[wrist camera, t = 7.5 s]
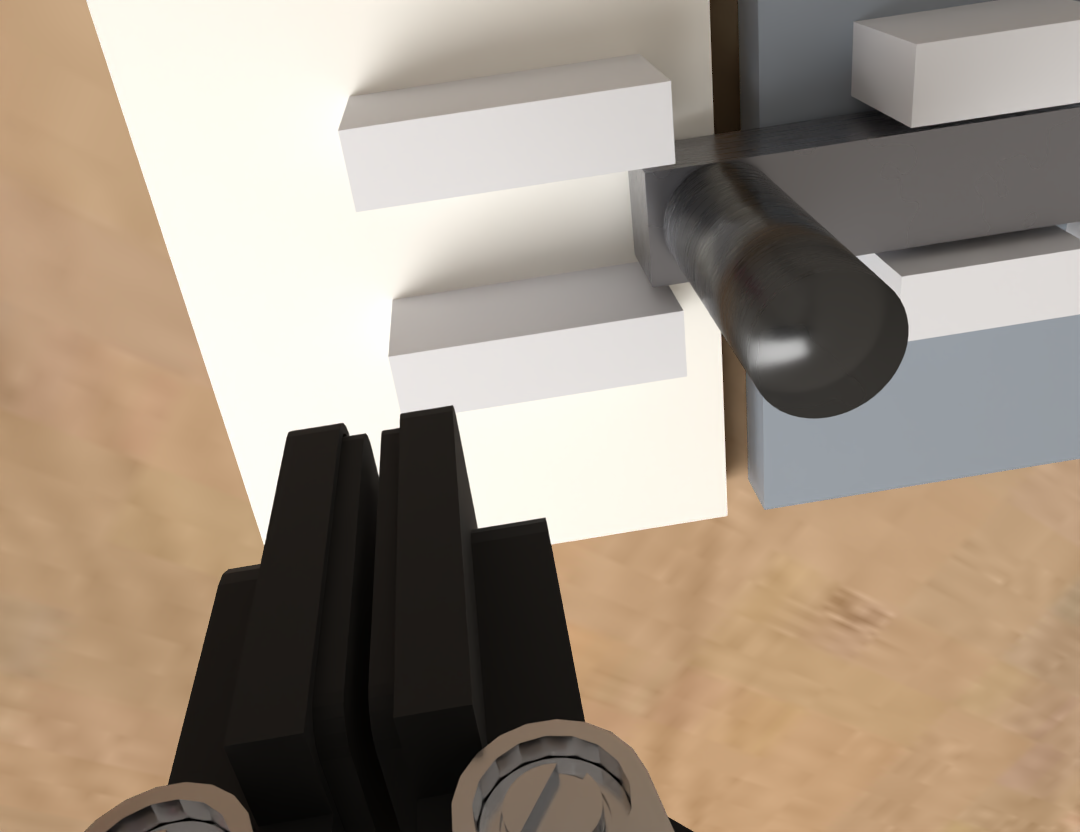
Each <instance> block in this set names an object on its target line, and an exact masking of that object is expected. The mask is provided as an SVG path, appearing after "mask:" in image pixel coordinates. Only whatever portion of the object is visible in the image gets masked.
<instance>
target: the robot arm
mask: <svg viewBox="0 0 1080 832" xmlns="http://www.w3.org/2000/svg"><path fill="white" fill-rule="evenodd" d="M84 832H693V831H691V830H690V829H688V828H686V827H684V826H683V825H681V824H679V823H678V822H676V821H674V820H672V819H671V818H669V817H668V816H667V814H666V812H665V809H664V807H663V805H662V802H661V800H660V798H659V796H658V793H657V791H656V789H655V787H654V784H653V782H652V780H651V777H650V775H649V773H648V771H647V769H646V768H645V766H644V765H643V763H642V762H641V760H640V759H639V757H638V756H637V754H636V753H635V751H634V750H633V748H632V747H630V746H629V745H628V744H626V743H625V742H624V741H622V740H621V739H620V738H618V737H617V736H616V735H615V734H613V733H612V732H611V731H608V730H605V729H602V728H600V727H597V726H594V725H592V724H589V723H586V722H585V719H584V714H583V709H582V704H581V698H580V693H579V688H578V683H577V677H576V672H575V667H574V662H573V656H572V651H571V646H570V641H569V635H568V630H567V625H566V620H565V614H564V609H563V604H562V599H561V594H560V588H559V583H558V578H557V573H556V567H555V562H554V557H553V552H552V546H551V541H550V536H549V531H548V526H547V521H546V517H545V518H539V519H533V520H527V521H521V522H515V523H508V524H502V525H496V526H490V527H484V528H478V526H477V521H476V516H475V510H474V505H473V500H472V495H471V490H470V485H469V479H468V474H467V469H466V464H465V459H464V453H463V448H462V443H461V438H460V433H459V428H458V423H457V418H456V413H455V409H454V406H453V405H451V406H444V407H438V408H432V409H426V410H419V411H413V412H407V413H401V414H400V428H395V429H389V430H383V431H382V433H381V447H380V467H379V475H378V471H377V467H376V463H375V459H374V455H373V451H372V447H371V443H370V440H369V438H368V435H367V434H366V433H364V434H358V435H351V436H350V435H349V432H348V430H347V427H346V425H345V424H344V423H338V424H332V425H325V426H319V427H313V428H306V429H300V430H294V431H290V432H288V435H287V437H286V442H285V447H284V452H283V457H282V462H281V467H280V472H279V477H278V481H277V486H276V491H275V496H274V501H273V506H272V511H271V516H270V521H269V526H268V531H267V535H266V540H265V545H264V550H263V555H262V560H261V564H258V565H252V566H246V567H240V568H234V569H228V570H227V571H226V572H225V573H224V574H223V575H222V577H221V580H220V583H219V585H218V589H217V593H216V597H215V601H214V605H213V609H212V613H211V617H210V621H209V625H208V628H207V632H206V636H205V640H204V644H203V648H202V652H201V656H200V660H199V664H198V668H197V672H196V676H195V680H194V684H193V688H192V692H191V696H190V700H189V704H188V708H187V711H186V715H185V719H184V723H183V727H182V731H181V735H180V739H179V743H178V747H177V751H176V755H175V759H174V763H173V767H172V771H171V775H170V779H169V783H168V785H166V786H160V787H155V788H153V789H151V790H148V791H146V792H143V793H141V794H139V795H136V796H134V797H132V798H129V799H127V800H125V801H123V802H122V803H120V804H119V805H117V806H116V807H114V808H113V809H111V810H110V811H108V812H107V813H105V814H104V815H102V816H101V817H99V818H98V819H97V820H96V821H95V822H94V823H93V824H91V825H90V826H89V827H88V828H87V829H86V830H85V831H84Z"/></svg>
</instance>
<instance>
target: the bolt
mask: <svg viewBox="0 0 1080 832" xmlns="http://www.w3.org/2000/svg"><path fill="white" fill-rule="evenodd" d="M674 146H675V164H671V165H664V166H658V167H651V168H644V169H638V170H631V171H628V176H629V189H630V201H631V214H632V227H633V239H634V252H635V256H636V258H637V260H638V261H639V263H640V265H641V267H642V269H643V271H644V273H645V274H646V276H647V278H648V280H649V282H650V284H651V285H652V287H653V288H654V287H660V286H667V285H673V284H680V283H686V282H689V283H690V284H691V286H692V287H693V289H694V290H695V292H696V294H697V295H698V297H699V298H700V300H701V301H702V303H703V305H704V306H705V308H706V309H707V311H708V312H709V314H710V316H711V317H712V319H713V320H714V322H715V323H716V325H717V326H718V328H719V330H720V331H721V333H722V334H723V336H724V337H725V339H726V341H727V342H728V344H729V345H730V347H731V348H732V350H733V352H734V353H735V355H736V356H737V358H738V359H739V361H740V363H741V364H742V366H743V367H744V369H745V370H746V372H747V374H748V375H749V377H750V378H751V380H752V381H753V383H754V384H755V386H756V388H757V389H758V391H759V392H760V394H761V395H762V396H763V397H764V399H765V400H766V401H767V402H769V403H770V404H771V405H772V406H773V407H775V408H777V409H778V410H780V411H782V412H784V413H786V414H789V415H792V416H796V417H801V418H809V419H819V418H828V417H833V416H837V415H840V414H843V413H846V412H849V411H851V410H853V409H855V408H857V407H859V406H861V405H863V404H864V403H866V402H867V401H869V400H870V399H871V398H873V397H874V396H875V395H876V394H878V393H879V392H880V391H881V390H882V389H883V388H884V387H885V386H886V385H887V384H888V382H889V381H890V380H891V379H892V377H893V376H894V374H895V373H896V371H897V369H898V368H899V366H900V364H901V362H902V359H903V357H904V355H905V351H906V348H907V343H908V336H909V325H908V318H907V314H906V311H905V308H904V306H903V304H902V302H901V300H900V298H899V297H898V296H897V294H896V293H895V292H894V291H893V290H892V289H891V288H890V287H889V286H888V285H887V284H886V283H885V282H884V281H883V280H882V279H881V278H879V277H878V276H877V275H876V274H875V273H874V272H873V271H872V270H871V269H869V268H868V267H867V266H866V265H865V264H864V263H863V262H862V261H861V260H859V259H858V258H857V257H856V256H860V255H866V254H873V253H879V252H886V251H892V250H899V249H905V248H912V247H918V246H924V245H931V244H937V243H944V242H950V241H957V240H963V239H970V238H976V237H982V236H989V235H995V234H1002V233H1008V232H1015V231H1021V230H1028V229H1034V228H1040V227H1047V226H1053V225H1060V224H1066V223H1073V222H1079V221H1080V102H1079V103H1073V104H1066V105H1060V106H1053V107H1046V108H1040V109H1033V110H1027V111H1020V112H1013V113H1007V114H1000V115H994V116H987V117H981V118H974V119H967V120H961V121H954V122H948V123H941V124H934V125H928V126H921V127H915V128H910V127H908V126H906V125H905V124H903V123H901V122H899V121H897V120H895V119H893V118H892V117H890V116H888V115H886V114H884V113H882V112H880V111H878V110H873V111H866V112H859V113H853V114H846V115H840V116H833V117H826V118H820V119H813V120H806V121H800V122H793V123H787V124H780V125H773V126H767V127H760V128H753V129H747V130H740V131H734V132H727V133H720V134H714V135H707V136H700V137H694V138H687V139H681V140H674Z"/></svg>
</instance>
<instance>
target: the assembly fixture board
mask: <svg viewBox="0 0 1080 832" xmlns="http://www.w3.org/2000/svg"><path fill="white" fill-rule="evenodd" d="M86 1H87V4H88V7H89V10H90V13H91V16H92V19H93V22H94V26H95V29H96V32H97V35H98V38H99V41H100V44H101V47H102V50H103V53H104V56H105V59H106V62H107V65H108V68H109V71H110V75H111V78H112V81H113V84H114V87H115V90H116V93H117V96H118V99H119V102H120V105H121V108H122V111H123V114H124V117H125V120H126V124H127V127H128V130H129V133H130V136H131V139H132V142H133V145H134V148H135V151H136V154H137V157H138V160H139V163H140V166H141V169H142V173H143V176H144V179H145V182H146V185H147V188H148V191H149V194H150V197H151V200H152V203H153V206H154V209H155V212H156V215H157V218H158V222H159V225H160V228H161V231H162V234H163V237H164V240H165V243H166V246H167V249H168V252H169V255H170V258H171V261H172V264H173V267H174V270H175V274H176V277H177V280H178V283H179V286H180V289H181V292H182V295H183V298H184V301H185V304H186V307H187V310H188V313H189V316H190V319H191V323H192V326H193V329H194V332H195V335H196V338H197V341H198V344H199V347H200V350H201V353H202V356H203V359H204V362H205V365H206V368H207V372H208V375H209V378H210V381H211V384H212V387H213V390H214V393H215V396H216V399H217V402H218V405H219V408H220V411H221V414H222V417H223V421H224V424H225V427H226V430H227V433H228V436H229V439H230V442H231V445H232V448H233V451H234V454H235V457H236V460H237V463H238V466H239V469H240V473H241V476H242V479H243V482H244V485H245V488H246V491H247V494H248V497H249V500H250V503H251V506H252V509H253V512H254V515H255V518H256V522H257V525H258V528H259V531H260V534H261V537H262V540H263V543H264V545H265V540H266V535H267V531H268V526H269V521H270V516H271V511H272V506H273V501H274V496H275V491H276V486H277V481H278V477H279V472H280V467H281V462H282V457H283V452H284V447H285V442H286V437H287V435H288V432H290V431H294V430H300V429H306V428H313V427H319V426H325V425H332V424H338V423H344V424H345V425H346V427H347V430H348V432H349V435H350V436H351V435H358V434H364V433H366V434H367V435H368V438H369V440H370V443H371V447H372V451H373V455H374V459H375V463H376V467H377V471H378V475H379V467H380V447H381V433H382V431H383V430H389V429H395V428H400V414H401V413H407V412H413V411H419V410H426V409H432V408H438V407H444V406H451V405H453V406H454V409H455V413H456V418H457V423H458V428H459V433H460V438H461V443H462V448H463V453H464V459H465V464H466V469H467V474H468V479H469V485H470V490H471V495H472V500H473V505H474V510H475V516H476V521H477V526H478V528H484V527H490V526H496V525H502V524H508V523H515V522H521V521H527V520H533V519H539V518H545V517H546V521H547V526H548V531H549V536H550V541H551V544H557V543H563V542H569V541H575V540H581V539H588V538H594V537H600V536H606V535H612V534H618V533H625V532H631V531H637V530H643V529H649V528H655V527H661V526H668V525H674V524H680V523H686V522H692V521H698V520H705V519H711V518H717V517H723V516H727V488H726V459H725V430H724V402H723V373H722V345H721V331H720V330H719V328H718V326H717V325H716V323H715V322H714V320H713V319H712V317H711V316H710V314H709V312H708V311H707V309H706V308H705V306H704V305H703V303H702V301H701V300H700V298H699V297H698V295H697V294H696V292H695V290H694V289H693V287H692V286H691V284H690V283H689V282H686V283H680V284H673V285H667V286H660V287H654V288H653V287H652V285H651V284H650V282H649V280H648V278H647V276H646V274H645V273H644V271H643V269H642V267H641V265H640V263H639V261H638V260H637V258H636V256H635V252H634V239H633V227H632V214H631V201H630V189H629V176H628V171H631V170H638V169H644V168H651V167H658V166H664V165H671V164H675V146H674V140H681V139H687V138H694V137H700V136H707V135H714V116H713V88H712V59H711V30H710V2H709V0H86ZM738 28H739V74H740V120H741V130H747V129H753V128H760V127H767V126H773V125H780V124H787V123H793V122H800V121H806V120H813V119H820V118H826V117H833V116H840V115H846V114H853V113H859V112H866V111H873V110H878V111H880V112H882V113H884V114H886V115H888V116H890V117H892V118H893V119H895V120H897V121H899V122H901V123H903V124H905V125H906V126H908V127H910V128H915V127H921V126H928V125H934V124H941V123H948V122H954V121H961V120H967V119H974V118H981V117H987V116H994V115H1000V114H1007V113H1013V112H1020V111H1027V110H1033V109H1040V108H1046V107H1053V106H1060V105H1066V104H1073V103H1079V102H1080V0H738ZM856 257H857V258H858V259H859V260H861V261H862V262H863V263H864V264H865V265H866V266H867V267H868V268H869V269H871V270H872V271H873V272H874V273H875V274H876V275H877V276H878V277H879V278H881V279H882V280H883V281H884V282H885V283H886V284H887V285H888V286H889V287H890V288H891V289H892V290H893V291H894V292H895V293H896V294H897V296H898V297H899V298H900V300H901V302H902V304H903V306H904V308H905V311H906V314H907V318H908V325H909V336H908V343H907V348H906V351H905V355H904V357H903V359H902V362H901V364H900V366H899V368H898V369H897V371H896V373H895V374H894V376H893V377H892V379H891V380H890V381H889V382H888V384H887V385H886V386H885V387H884V388H883V389H882V390H881V391H880V392H879V393H878V394H876V395H875V396H874V397H873V398H871V399H870V400H869V401H867V402H866V403H864V404H863V405H861V406H859V407H857V408H855V409H853V410H851V411H849V412H846V413H843V414H840V415H837V416H833V417H828V418H819V419H809V418H801V417H796V416H792V415H789V414H786V413H784V412H782V411H780V410H778V409H777V408H775V407H773V406H772V405H771V404H770V403H769V402H767V401H766V400H765V399H764V397H763V396H762V395H761V394H760V392H759V391H758V389H757V388H756V386H755V384H754V383H753V381H752V380H751V378H750V377H749V375H748V374H747V372H746V397H747V443H748V480H749V482H750V484H751V485H752V487H753V489H754V491H755V493H756V495H757V497H758V499H759V501H760V502H761V504H762V506H763V508H764V510H766V509H772V508H778V507H785V506H791V505H797V504H803V503H809V502H815V501H822V500H828V499H834V498H840V497H846V496H852V495H859V494H865V493H871V492H877V491H883V490H889V489H896V488H902V487H908V486H914V485H920V484H926V483H932V482H939V481H945V480H951V479H957V478H963V477H969V476H976V475H982V474H988V473H994V472H1000V471H1006V470H1013V469H1019V468H1025V467H1031V466H1037V465H1043V464H1050V463H1056V462H1062V461H1068V460H1074V459H1080V221H1079V222H1073V223H1066V224H1060V225H1053V226H1047V227H1040V228H1034V229H1028V230H1021V231H1015V232H1008V233H1002V234H995V235H989V236H982V237H976V238H970V239H963V240H957V241H950V242H944V243H937V244H931V245H924V246H918V247H912V248H905V249H899V250H892V251H886V252H879V253H873V254H866V255H860V256H856Z"/></svg>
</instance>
